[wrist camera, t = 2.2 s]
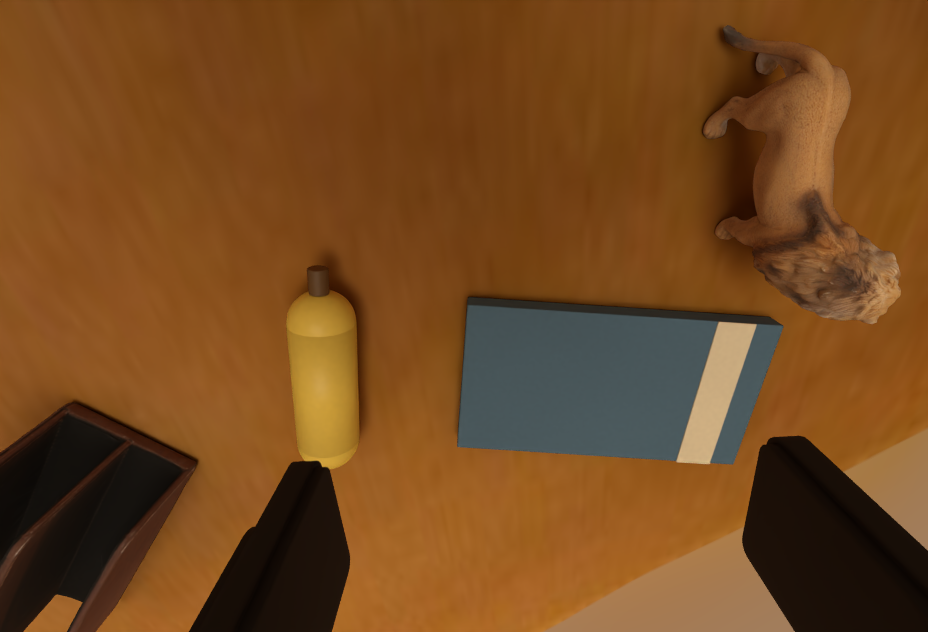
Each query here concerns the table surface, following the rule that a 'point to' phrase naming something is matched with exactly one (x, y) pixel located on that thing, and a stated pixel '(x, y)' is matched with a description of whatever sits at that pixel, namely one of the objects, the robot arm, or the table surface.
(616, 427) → the towel
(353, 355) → the yellow shampoo bottle
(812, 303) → the lion figurine
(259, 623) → the robot arm
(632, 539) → the table surface
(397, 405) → the table surface
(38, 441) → the letter holder
